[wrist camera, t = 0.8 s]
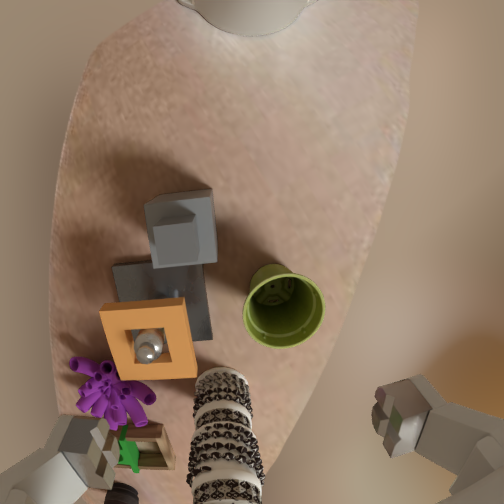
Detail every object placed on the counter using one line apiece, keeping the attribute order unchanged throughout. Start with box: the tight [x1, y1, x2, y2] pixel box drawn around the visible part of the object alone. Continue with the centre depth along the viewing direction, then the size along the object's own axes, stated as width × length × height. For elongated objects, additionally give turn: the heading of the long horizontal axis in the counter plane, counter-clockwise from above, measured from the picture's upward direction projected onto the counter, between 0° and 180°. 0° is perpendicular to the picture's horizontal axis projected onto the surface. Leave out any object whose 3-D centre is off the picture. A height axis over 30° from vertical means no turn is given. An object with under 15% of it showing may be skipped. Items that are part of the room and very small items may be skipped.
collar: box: [99, 297, 197, 380], centre depth 33 cm, size 9×9×2 cm
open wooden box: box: [109, 424, 176, 470], centre depth 48 cm, size 10×17×4 cm, turn 94°
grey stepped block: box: [144, 189, 218, 269], centre depth 34 cm, size 7×7×13 cm
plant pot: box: [243, 264, 325, 349], centre depth 39 cm, size 9×9×9 cm
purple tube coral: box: [69, 357, 156, 431], centre depth 42 cm, size 11×15×10 cm
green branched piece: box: [118, 425, 140, 473], centre depth 48 cm, size 10×4×4 cm, turn 1°
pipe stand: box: [112, 260, 213, 364], centre depth 36 cm, size 12×12×14 cm
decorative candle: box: [186, 367, 265, 504], centre depth 36 cm, size 9×9×25 cm
